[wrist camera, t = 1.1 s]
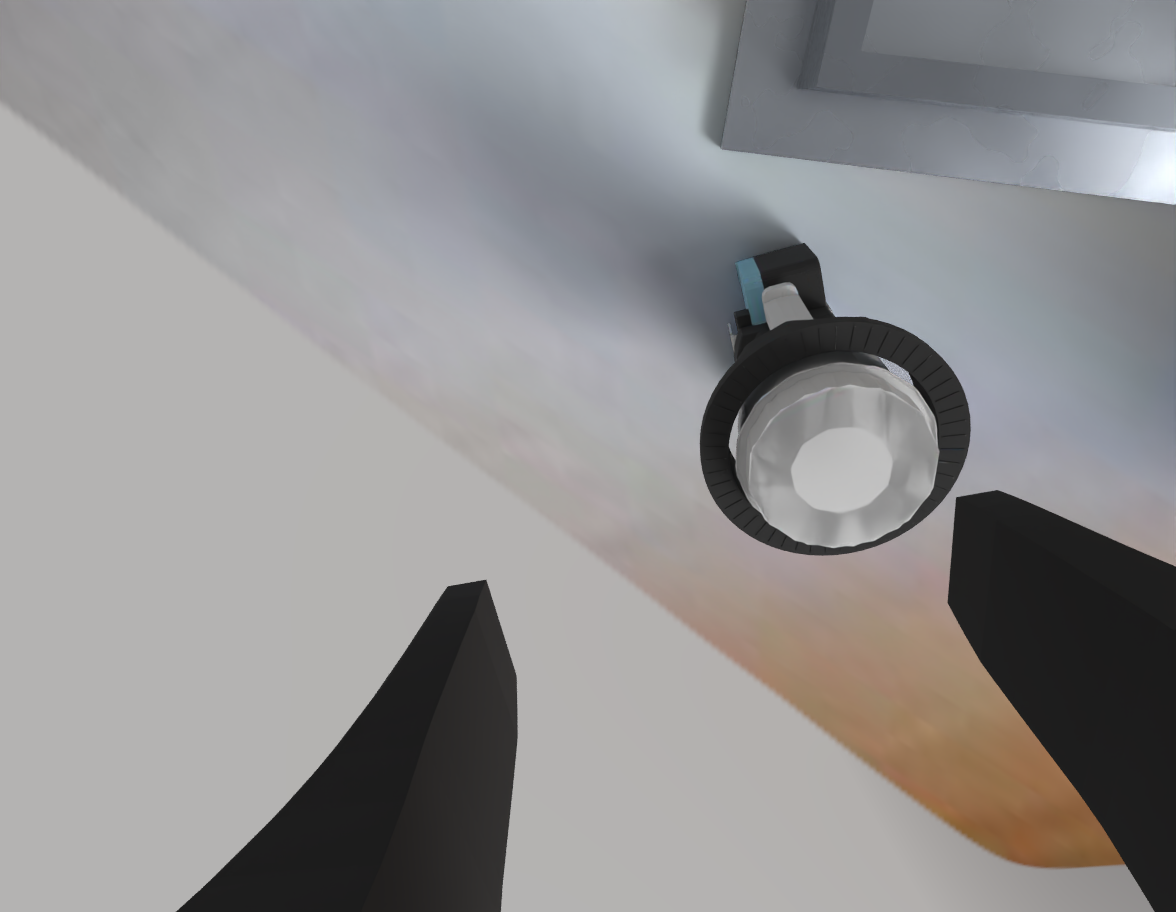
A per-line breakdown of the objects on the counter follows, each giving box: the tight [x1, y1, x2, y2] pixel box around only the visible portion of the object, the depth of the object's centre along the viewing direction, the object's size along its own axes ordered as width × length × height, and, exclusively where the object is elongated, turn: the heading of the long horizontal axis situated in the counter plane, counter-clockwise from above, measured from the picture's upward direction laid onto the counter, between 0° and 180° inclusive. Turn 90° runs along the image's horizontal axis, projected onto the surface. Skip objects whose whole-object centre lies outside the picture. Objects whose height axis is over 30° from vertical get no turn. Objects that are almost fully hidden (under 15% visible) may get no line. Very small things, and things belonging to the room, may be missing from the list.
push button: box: [700, 243, 971, 556], centre depth 18 cm, size 7×5×10 cm
